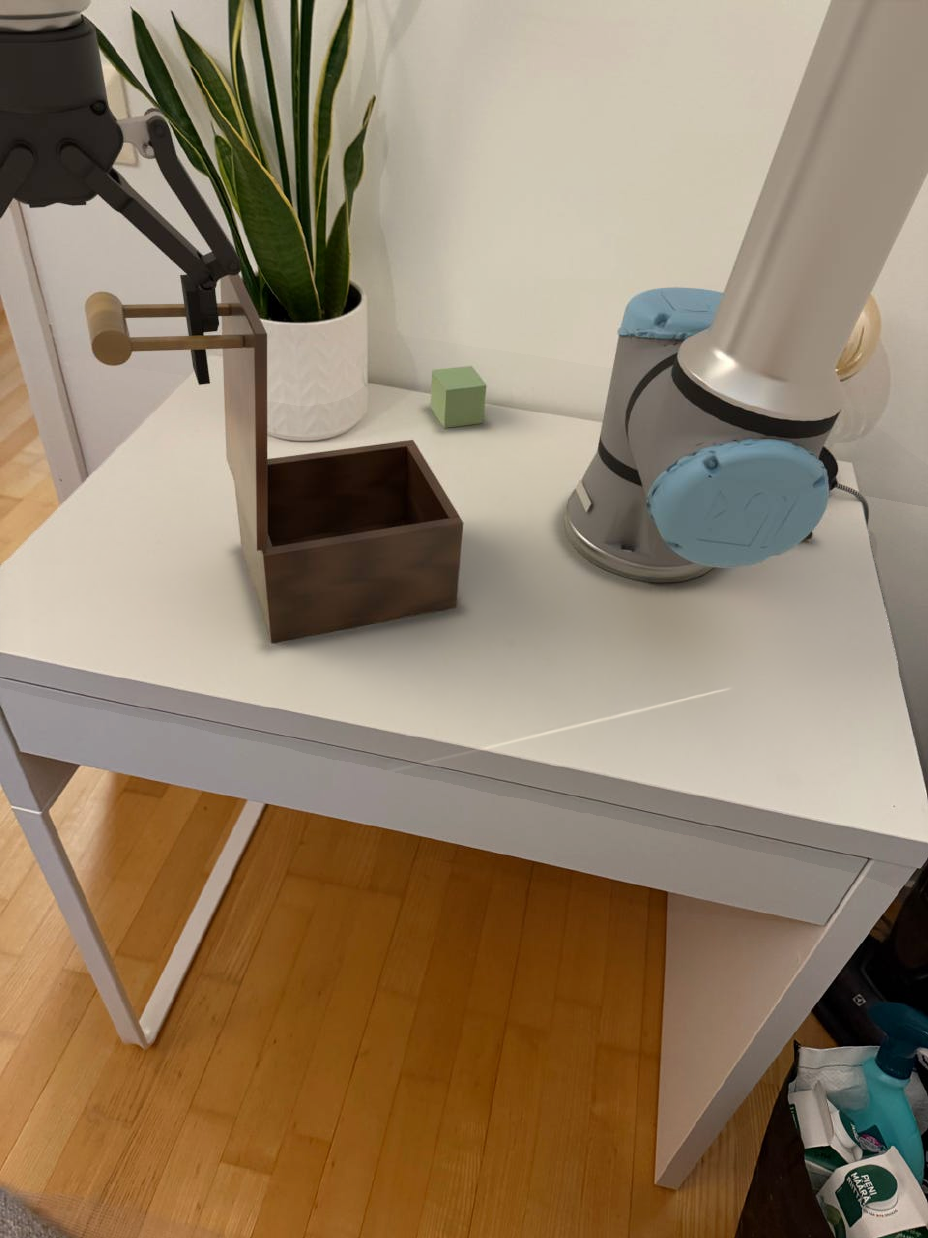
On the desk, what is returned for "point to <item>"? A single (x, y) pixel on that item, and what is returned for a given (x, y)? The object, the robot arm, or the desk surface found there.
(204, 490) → the desk surface
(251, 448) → the lid
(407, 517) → the chest
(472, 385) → the block
